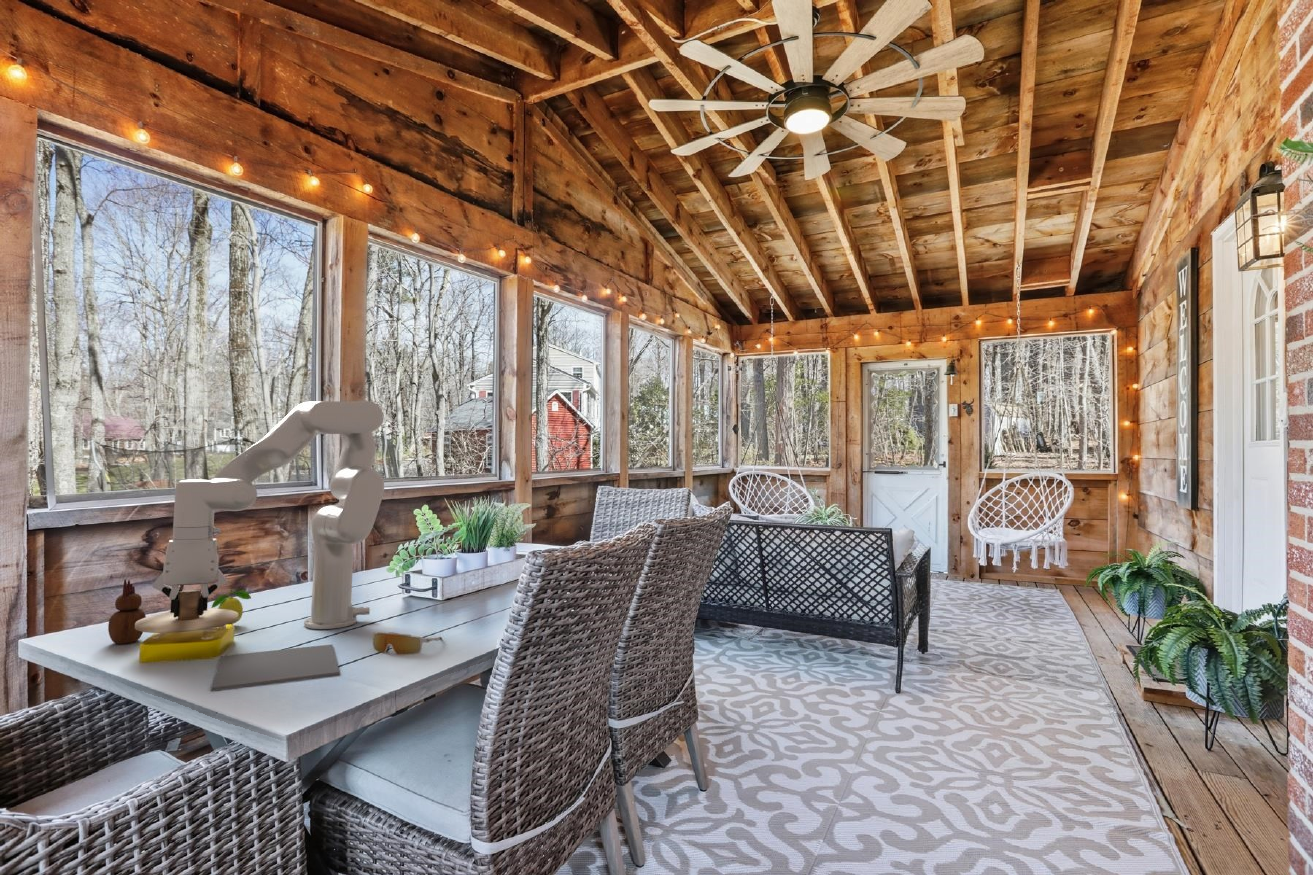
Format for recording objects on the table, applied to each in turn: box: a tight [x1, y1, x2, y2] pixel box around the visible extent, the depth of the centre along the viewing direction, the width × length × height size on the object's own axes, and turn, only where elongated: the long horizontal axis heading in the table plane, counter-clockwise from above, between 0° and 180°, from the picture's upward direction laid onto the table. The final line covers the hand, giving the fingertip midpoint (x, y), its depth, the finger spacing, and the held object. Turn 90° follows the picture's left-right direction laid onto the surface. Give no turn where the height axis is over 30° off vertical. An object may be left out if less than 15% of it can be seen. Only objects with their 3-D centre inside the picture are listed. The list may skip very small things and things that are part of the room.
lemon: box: [211, 587, 252, 625], centre depth 169 cm, size 7×6×10 cm
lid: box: [135, 589, 238, 634], centre depth 147 cm, size 19×19×7 cm
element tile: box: [138, 624, 236, 664], centre depth 148 cm, size 15×15×5 cm
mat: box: [210, 643, 341, 692], centre depth 139 cm, size 22×22×1 cm
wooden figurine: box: [107, 578, 146, 645], centre depth 153 cm, size 7×6×15 cm
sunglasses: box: [372, 631, 443, 655], centre depth 157 cm, size 14×15×5 cm
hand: (188, 614), depth 147 cm, fingers closed on lid, 4 cm apart
